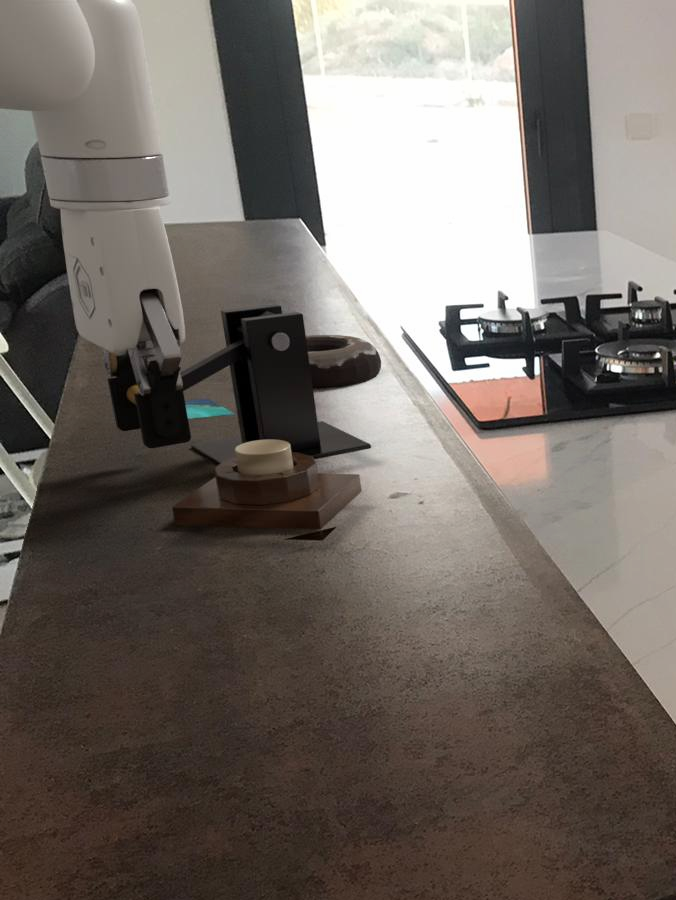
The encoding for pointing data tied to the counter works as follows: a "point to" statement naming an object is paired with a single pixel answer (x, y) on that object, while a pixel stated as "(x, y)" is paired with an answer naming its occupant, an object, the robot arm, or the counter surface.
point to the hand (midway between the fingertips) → (153, 433)
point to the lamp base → (270, 499)
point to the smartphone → (205, 409)
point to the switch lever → (208, 364)
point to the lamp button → (263, 457)
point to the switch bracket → (275, 388)
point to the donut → (341, 360)
